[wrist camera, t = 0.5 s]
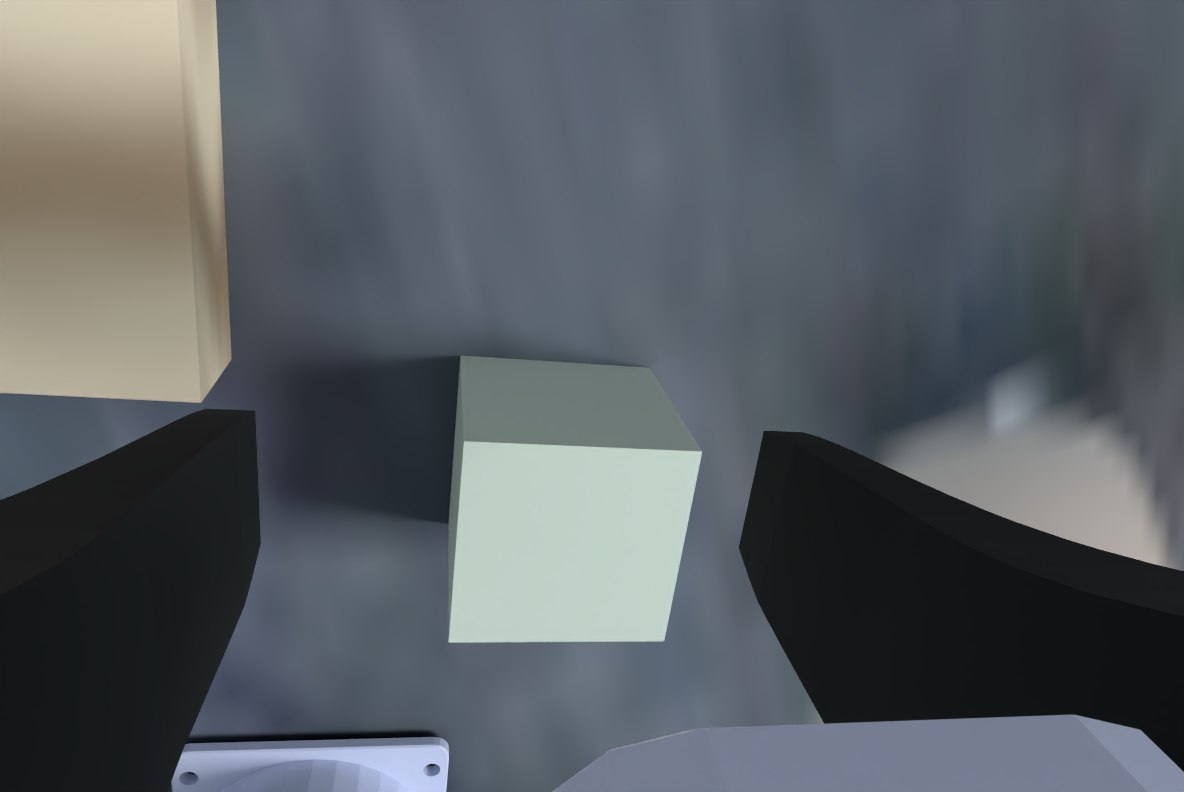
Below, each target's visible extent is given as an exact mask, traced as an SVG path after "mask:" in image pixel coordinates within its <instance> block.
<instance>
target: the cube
mask: <svg viewBox="0 0 1184 792" xmlns="http://www.w3.org/2000/svg"><path fill="white" fill-rule="evenodd" d="M701 455H702V451H701V449H700V447H699V446H698V444H697V443H696V441H695V439H694V438H693V436H692V435H691V433H690V431H689V430H688V428H687V427H686V425H685V423H684V422H683V420H682V419H681V417H680V415H679V414H678V412H677V411H676V409H675V408H674V406H673V404H672V403H671V401H670V400H669V398H668V396H667V395H666V393H665V392H664V390H663V388H662V387H661V385H660V384H659V382H658V380H657V379H656V377H655V376H654V374H653V372H652V371H651V369H650V368H645V367H630V366H614V365H599V364H583V363H568V362H553V361H537V360H522V359H506V358H491V357H475V356H460V369H459V384H458V398H457V412H456V426H455V440H454V454H453V468H452V482H451V496H450V511H449V642H606V641H664V639H665V634H666V629H667V624H668V619H669V614H670V609H671V604H672V599H673V594H674V589H675V584H676V579H677V574H678V569H679V564H680V559H681V554H682V549H683V544H684V540H685V535H686V530H687V525H688V520H689V515H690V510H691V505H692V500H693V495H694V490H695V485H696V480H697V475H698V470H699V465H700V460H701Z"/></svg>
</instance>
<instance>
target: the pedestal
mask: <svg viewBox="0 0 1184 792" xmlns="http://www.w3.org/2000/svg"><path fill="white" fill-rule="evenodd" d="M230 361H231V339H230V316H229V294H228V271H227V248H226V225H225V202H224V180H223V157H222V134H221V111H220V88H219V65H218V43H217V20H216V0H0V393H16V394H35V395H55V396H75V397H95V398H115V399H135V400H155V401H175V402H195V403H201V402H202V401H203V400H204V398H205V397H206V395H207V394H208V392H209V391H210V390H211V388H212V387H213V385H214V384H215V382H216V381H217V380H218V378H219V377H220V375H221V374H222V372H223V371H224V370H225V368H226V367H227V365H228V364H229V362H230Z"/></svg>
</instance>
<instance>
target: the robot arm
mask: <svg viewBox="0 0 1184 792" xmlns="http://www.w3.org/2000/svg"><path fill="white" fill-rule="evenodd" d="M260 544H261V542H260V518H259V494H258V470H257V447H256V423H255V411H246V410H221V409H204V410H201V411H197V412H195V413H192V414H190V415H187V416H185V417H183V418H181V419H179V420H176V421H174V422H172V423H170V424H168V425H166V426H164V427H162V428H160V429H158V430H156V431H154V432H152V433H150V434H148V435H146V436H144V437H142V438H140V439H138V440H136V441H133V442H131V443H129V444H127V445H125V446H123V447H121V448H119V449H117V450H115V451H113V452H111V453H109V454H107V455H105V456H103V457H101V458H99V459H96V460H94V461H92V462H90V463H87V464H85V465H83V466H80V467H78V468H76V469H74V470H71V471H69V472H67V473H65V474H62V475H60V476H58V477H55V478H53V479H51V480H49V481H46V482H44V483H42V484H39V485H37V486H35V487H33V488H30V489H28V490H25V491H23V492H20V493H18V494H15V495H13V496H10V497H7V498H5V499H2V500H0V792H168V791H169V787H170V784H172V792H446V787H447V775H448V762H449V746H448V743H447V742H446V741H445V740H443V739H441V738H438V737H414V738H376V739H339V740H301V741H264V742H227V743H190V744H186V742H187V739H188V737H189V735H190V732H191V730H192V728H193V725H194V723H195V721H196V718H197V716H198V714H199V711H200V709H201V707H202V704H203V702H204V700H205V697H206V695H207V693H208V691H209V688H210V686H211V684H212V681H213V679H214V677H215V674H216V672H217V670H218V667H219V665H220V663H221V660H222V658H223V656H224V653H225V651H226V649H227V646H228V644H229V641H230V639H231V637H232V634H233V632H234V629H235V627H236V625H237V622H238V620H239V617H240V615H241V613H242V610H243V608H244V605H245V602H246V598H247V595H248V591H249V587H250V583H251V580H252V576H253V572H254V568H255V564H256V560H257V556H258V552H259V548H260ZM739 550H740V553H741V556H742V559H743V562H744V565H745V568H746V571H747V574H748V577H749V579H750V582H751V585H752V587H753V590H754V592H755V595H756V598H757V600H758V603H759V605H760V607H761V609H762V610H763V612H764V614H765V616H766V618H767V620H768V622H769V624H770V626H771V627H772V629H773V631H774V633H775V635H776V637H777V639H778V640H779V642H780V644H781V646H782V648H783V650H784V651H785V653H786V655H787V657H788V659H789V660H790V662H791V664H792V666H793V668H794V670H795V671H796V673H797V675H798V677H799V679H800V680H801V682H802V684H803V686H804V688H805V689H806V691H807V693H808V695H809V697H810V698H811V700H812V702H813V704H814V706H815V708H816V709H817V711H818V713H819V715H820V717H821V718H822V720H823V722H824V724H803V725H775V726H748V727H721V728H696V729H692V730H688V731H684V732H679V733H675V734H671V735H667V736H663V737H659V738H655V739H651V740H646V741H642V742H638V743H634V744H630V745H626V746H622V747H617V748H613V749H610V750H609V751H607V752H606V753H604V754H603V755H602V756H600V757H599V758H598V759H596V760H595V761H594V762H592V763H591V764H589V765H588V766H587V767H585V768H584V769H583V770H581V771H580V772H578V773H577V774H576V775H574V776H573V777H572V778H570V779H569V780H567V781H566V782H565V783H563V784H562V785H561V786H559V787H558V788H556V789H555V790H554V791H552V792H1184V571H1180V570H1176V569H1172V568H1167V567H1163V566H1159V565H1155V564H1151V563H1147V562H1143V561H1140V560H1136V559H1133V558H1129V557H1125V556H1121V555H1118V554H1114V553H1110V552H1106V551H1103V550H1099V549H1096V548H1093V547H1089V546H1086V545H1083V544H1079V543H1076V542H1073V541H1069V540H1066V539H1063V538H1060V537H1057V536H1054V535H1052V534H1049V533H1046V532H1043V531H1040V530H1037V529H1034V528H1031V527H1028V526H1025V525H1022V524H1020V523H1017V522H1014V521H1011V520H1009V519H1006V518H1003V517H1001V516H998V515H996V514H993V513H991V512H988V511H986V510H983V509H981V508H978V507H976V506H974V505H971V504H969V503H966V502H964V501H962V500H959V499H957V498H954V497H952V496H949V495H947V494H945V493H943V492H941V491H938V490H936V489H934V488H932V487H929V486H927V485H925V484H923V483H921V482H918V481H916V480H914V479H912V478H910V477H908V476H905V475H903V474H901V473H899V472H897V471H895V470H893V469H890V468H888V467H886V466H884V465H882V464H880V463H878V462H875V461H873V460H871V459H869V458H867V457H865V456H862V455H860V454H858V453H856V452H854V451H851V450H849V449H847V448H845V447H842V446H840V445H838V444H835V443H833V442H830V441H828V440H825V439H823V438H820V437H817V436H814V435H810V434H807V433H803V432H781V431H764V433H763V438H762V442H761V447H760V452H759V456H758V461H757V466H756V470H755V475H754V480H753V484H752V489H751V494H750V498H749V503H748V508H747V512H746V517H745V522H744V526H743V531H742V536H741V540H740V545H739ZM429 764H437V765H435V766H427V765H429ZM187 772H193V773H195V774H188V773H187Z"/></svg>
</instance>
